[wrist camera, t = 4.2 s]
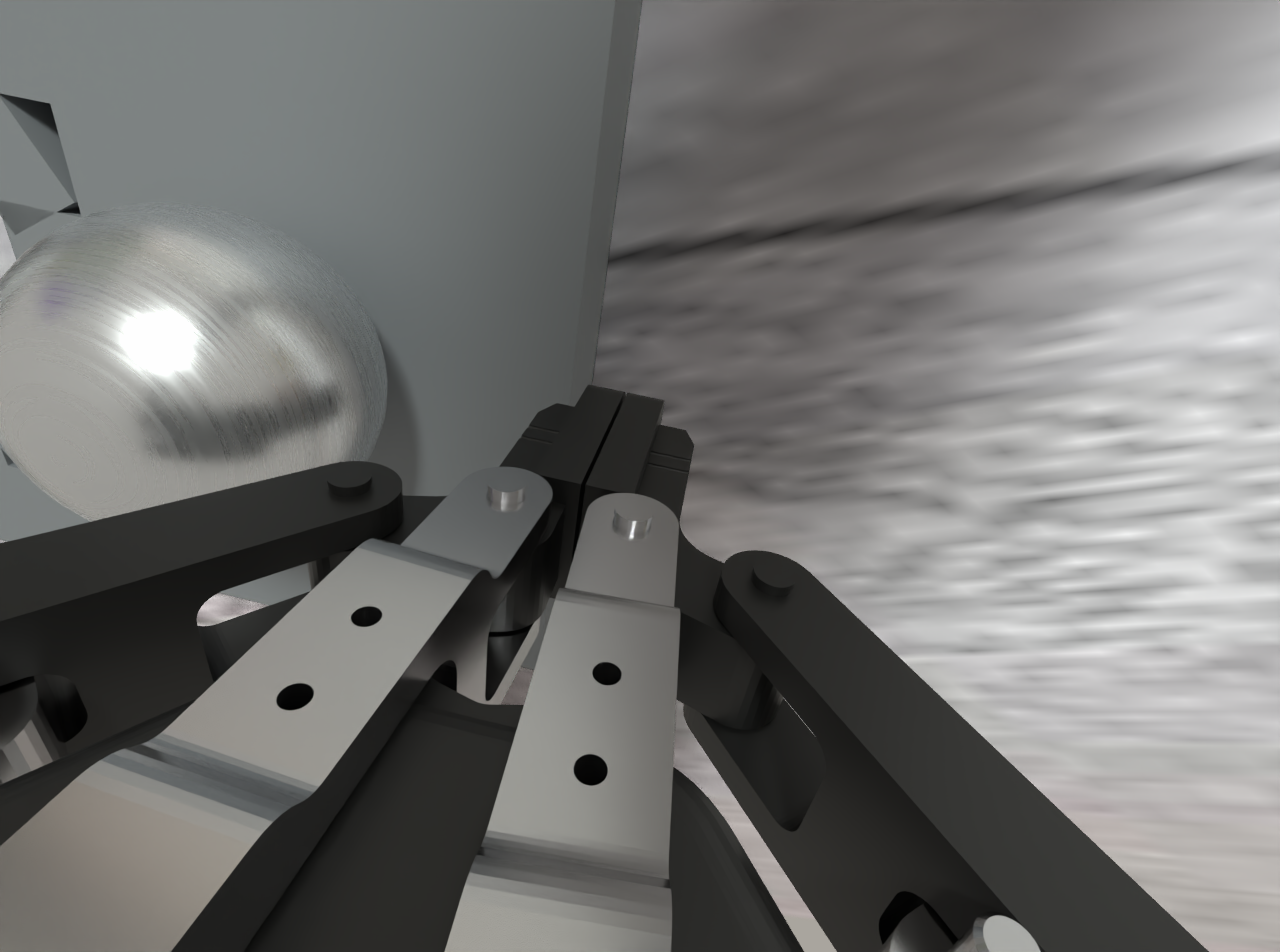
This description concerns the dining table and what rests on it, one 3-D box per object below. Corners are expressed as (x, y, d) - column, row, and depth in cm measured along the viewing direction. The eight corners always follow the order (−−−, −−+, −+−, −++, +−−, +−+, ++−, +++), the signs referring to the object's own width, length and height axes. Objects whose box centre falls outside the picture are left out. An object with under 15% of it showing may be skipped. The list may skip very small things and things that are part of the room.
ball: (151, 156, 13) (-247, 193, 8) (438, 215, 13) (216, 294, 8) (208, 420, 16) (-51, 571, 11) (439, 473, 16) (283, 654, 11)
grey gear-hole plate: (-523, -331, 13) (-780, -416, 11) (659, -128, 11) (635, -181, 9) (-116, 450, 22) (-209, 488, 20) (561, 612, 21) (539, 671, 19)
